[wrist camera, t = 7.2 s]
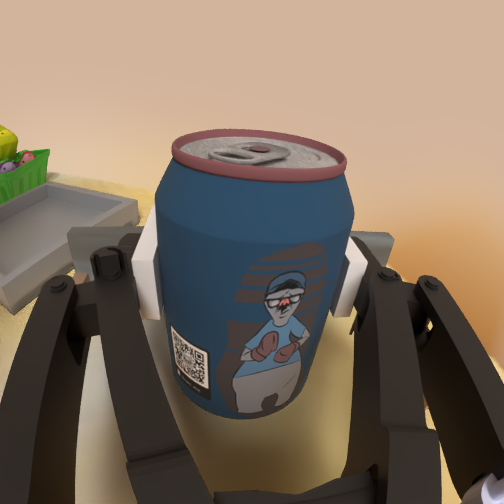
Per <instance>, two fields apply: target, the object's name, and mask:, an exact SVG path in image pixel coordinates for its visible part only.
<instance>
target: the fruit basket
mask: <svg viewBox="0 0 504 504" xmlns="http://www.w3.org/2000/svg"><path fill="white" fill-rule="evenodd" d="M17 143H18V138H17V136H16V135H15V134H14V133H12V132H11V131H10V130H8V129H6V128H5V127H4V126H1V125H0V205H1V204H3V203H5V202H7V201H9V200H10V199H12V198H14V197H16V196H18V195H20V194H22V193H24V192H27V191H29V190H31V189H33V188H35V187H37V186H39V185H41V184H43V183H45V180H46V171H47V162H48V156H49V153H50V149H43V150H34V151H28V150H24V151H21V152H18V153H16V151H17Z"/></svg>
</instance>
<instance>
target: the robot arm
mask: <svg viewBox="0 0 504 504" xmlns="http://www.w3.org/2000/svg"><path fill="white" fill-rule="evenodd" d="M90 262H91V266H92V270H93V275H94V280H93V281H91V282H87V283H82V284H76V285H75V281H74V280H73V278H72V277H70V276H68V275H59V276H55V277H52V278H50V279H49V280H48V281H46V282H45V284H44V285H43V287H42V289H41V291H40V294H39V296H38V298H37V300H36V303H35V305H34V307H33V310H32V312H31V314H30V317H29V319H28V322H27V324H26V327H25V329H24V332H23V335H22V337H21V340H20V343H19V346H18V348H17V351H16V354H15V357H14V360H13V363H12V366H11V369H10V372H9V375H8V379H7V382H6V385H5V389H4V393H3V396H2V400H1V404H0V504H75V467H76V448H77V435H78V423H79V414H80V405H81V397H82V389H83V382H84V376H85V369H86V363H87V357H88V352H89V346H90V341H91V336H95V335H100V336H101V343H102V349H103V356H104V362H105V367H106V373H107V378H108V383H109V388H110V393H111V398H112V402H113V407H114V411H115V415H116V419H117V423H118V427H119V431H120V435H121V439H122V442H123V446H124V449H125V453H126V457H127V462H126V467H127V472H128V475H129V479H130V482H131V485H132V488H133V491H134V494H135V496H136V499H137V502H138V504H442V486H441V459H440V444H441V447H442V450H443V454H444V457H445V460H446V464H447V467H448V471H449V474H450V477H451V480H452V483H453V485H454V487H455V489H456V491H457V494H458V495H459V497H460V499H461V500H462V503H460V504H504V384H503V382H502V380H501V378H500V376H499V374H498V372H497V370H496V369H495V367H494V365H493V363H492V361H491V359H490V358H489V356H488V354H487V352H486V351H485V349H484V347H483V346H482V344H481V342H480V340H479V339H478V337H477V335H476V334H475V332H474V330H473V329H472V327H471V326H470V324H469V322H468V321H467V319H466V318H465V316H464V314H463V313H462V311H461V310H460V308H459V307H458V305H457V304H456V302H455V301H454V299H453V298H452V296H451V295H450V293H449V292H448V290H447V289H446V288H445V286H444V285H443V284H442V282H441V281H439V280H438V279H437V278H435V277H432V276H427V275H424V276H420V277H419V278H418V281H417V283H416V284H412V283H407V282H403V281H402V279H401V277H400V275H399V274H398V273H397V272H396V271H394V270H392V269H390V268H387V267H382V266H381V264H380V263H379V262H378V260H377V259H376V257H375V256H374V255H373V254H372V252H371V251H370V249H368V247H367V245H366V244H365V243H364V242H363V241H362V240H360V239H359V238H358V237H356V236H349V240H348V244H347V248H346V252H345V256H344V259H343V263H342V267H341V271H340V274H339V278H338V281H337V285H336V289H335V292H334V295H333V299H332V302H331V306H330V311H331V313H332V316H333V317H349V316H350V314H351V312H352V309H353V306H354V307H355V309H356V311H357V315H356V317H355V320H354V322H353V325H352V328H351V330H350V333H349V334H350V335H352V333H353V331H354V367H353V390H352V407H351V421H350V433H349V444H348V454H347V461H346V465H345V468H344V470H343V472H342V475H341V478H337V479H334V480H332V481H330V482H327V483H325V484H323V485H321V486H318V487H316V488H314V489H311V490H309V491H307V492H304V493H302V494H298V495H292V494H281V493H272V492H264V491H257V490H251V491H232V492H214V498H213V499H212V498H211V496H210V494H209V492H208V490H207V487H206V485H205V483H204V481H203V479H202V477H201V475H200V473H199V471H198V469H197V466H196V464H195V462H194V460H193V458H192V456H191V453H190V452H189V450H188V448H187V447H186V445H185V443H184V441H183V438H182V436H181V433H180V431H179V429H178V426H177V424H176V421H175V418H174V416H173V413H172V411H171V408H170V405H169V403H168V400H167V397H166V395H165V392H164V389H163V386H162V383H161V380H160V378H159V375H158V372H157V369H156V366H155V363H154V359H153V356H152V353H151V350H150V347H149V344H148V340H147V337H146V334H145V330H144V327H143V323H142V320H141V319H155V320H160V319H161V313H162V307H163V295H162V286H161V277H160V266H159V255H158V243H157V229H156V214H155V203H154V205H153V208H152V210H151V212H150V215H149V217H148V220H147V222H146V224H145V227H144V229H143V232H142V233H127V234H126V235H125V236H123V237H122V238H121V239H120V241H119V243H118V246H106V247H102V248H100V249H98V250H96V251H94V252H93V253H92V255H91V257H90ZM139 310H140V313H139ZM140 314H141V316H140ZM430 320H431V322H432V325H433V327H432V329H431V330H429V329H428V327H427V326H428V324H429V322H430ZM423 394H424V397H425V400H426V402H427V405H428V408H429V411H430V414H431V417H432V419H433V422H434V425H435V428H436V431H437V432H436V431H435V430H434V429H428V427H427V425H426V418H425V408H424V399H423ZM439 441H440V444H439Z"/></svg>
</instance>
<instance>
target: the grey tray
mask: <svg viewBox="0 0 504 504" xmlns="http://www.w3.org/2000/svg"><path fill="white" fill-rule="evenodd" d="M137 224H139V214H138V202H137V200H135V199H130V198H126V197H121V196H116V195H112V194H107V193H102V192H98V191H93V190H88V189H84V188H79V187H74V186H69V185H64V184H59V183H54V182H49V181H48V182H46V183H43V184H41V185H39V186H37V187H35V188H33V189H31V190H29V191H27V192H24V193H22V194H20V195H18V196H16V197H14V198H12V199H10V200H9V201H7V202H5V203H3V204H1V205H0V304H1V305H2V306H3V307H5V308H6V309H7V310H8V311H9V312H10V313H11V314H13V315H15V314H16V313H17V312H18V311H19V310H21V309H22V308H23V307H24V306H26V305H27V304H28V303H29V302H31V301H32V300H33V299H34V298H36V297H37V296H38V295H39V294H40V291H41V289H42V287H43V285H44V284H45V282H46V281H48V280H49V279H50V278H52V277H55V276H59V275H66V274H67V273H68V272H70V271H71V270H72V269H74V264H73V260H72V256H71V252H70V248H69V244H68V239H67V233H68V231H69V230H70V229H71V227H118V226H136V225H137Z"/></svg>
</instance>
